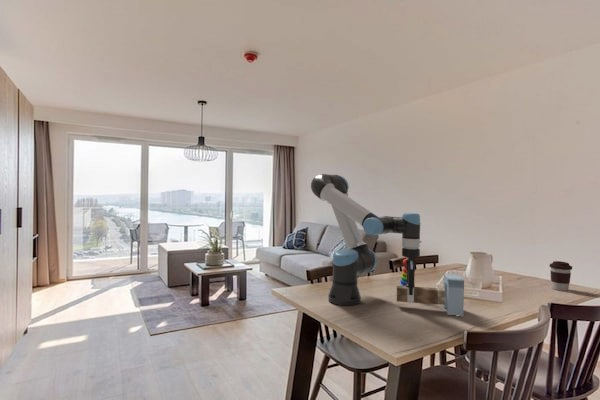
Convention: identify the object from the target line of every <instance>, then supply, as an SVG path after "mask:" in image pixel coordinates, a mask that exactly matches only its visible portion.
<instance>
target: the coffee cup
mask: <svg viewBox="0 0 600 400" xmlns="http://www.w3.org/2000/svg"><path fill="white" fill-rule="evenodd" d="M549 268H550V282H551V289H553V290H555V291H560V292H567V291H569V287H570V283H571V274H572V272H571V270H573V266H572V265H570V263H568V262H566V261H561V260H560V261H557V260H556V261H555V260H553V262H552V263H549Z"/></svg>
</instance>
